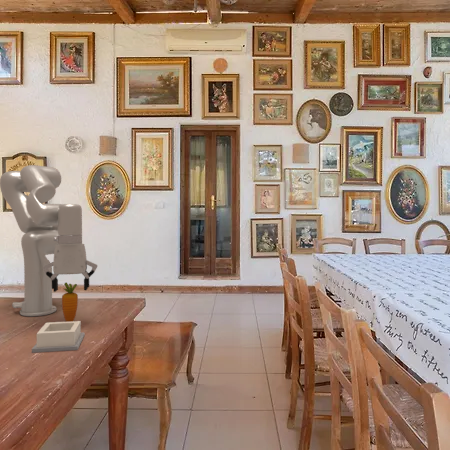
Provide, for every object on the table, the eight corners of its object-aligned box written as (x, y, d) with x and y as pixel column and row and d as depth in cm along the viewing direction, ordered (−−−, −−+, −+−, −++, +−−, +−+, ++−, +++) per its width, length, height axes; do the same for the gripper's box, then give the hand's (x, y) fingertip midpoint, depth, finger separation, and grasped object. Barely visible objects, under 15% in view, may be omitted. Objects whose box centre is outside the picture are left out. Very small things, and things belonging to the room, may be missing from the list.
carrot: (80, 324, 125) (80, 281, 124) (70, 328, 120) (70, 284, 120) (69, 322, 126) (69, 280, 126) (58, 326, 122) (58, 283, 121)
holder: (31, 352, 100) (31, 334, 99) (43, 337, 111) (43, 321, 111) (77, 349, 102) (77, 332, 102) (84, 335, 114) (84, 319, 114)
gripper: (39, 241, 116) (40, 293, 117) (95, 240, 120) (96, 291, 121) (45, 240, 124) (46, 289, 124) (98, 239, 128) (98, 287, 128)
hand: (70, 290), depth 122 cm, fingers open, 9 cm apart
